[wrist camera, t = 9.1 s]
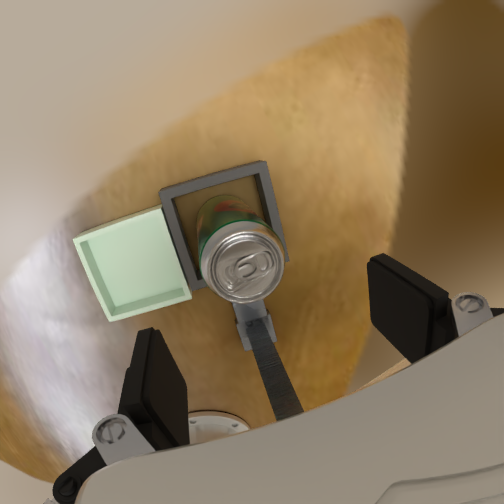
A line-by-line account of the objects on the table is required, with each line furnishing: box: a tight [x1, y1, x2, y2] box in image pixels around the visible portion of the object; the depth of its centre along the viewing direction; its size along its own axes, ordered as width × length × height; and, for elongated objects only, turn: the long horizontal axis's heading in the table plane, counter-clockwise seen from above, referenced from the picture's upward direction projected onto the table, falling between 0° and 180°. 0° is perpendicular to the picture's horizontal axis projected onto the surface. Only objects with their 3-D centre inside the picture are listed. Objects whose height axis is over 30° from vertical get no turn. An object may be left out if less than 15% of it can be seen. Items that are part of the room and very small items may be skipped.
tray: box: [73, 204, 192, 322], centre depth 26 cm, size 8×8×2 cm
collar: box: [159, 161, 289, 291], centre depth 27 cm, size 9×9×2 cm
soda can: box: [196, 195, 285, 304], centre depth 22 cm, size 5×5×12 cm
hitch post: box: [232, 299, 304, 421], centre depth 25 cm, size 9×4×14 cm, turn 15°
